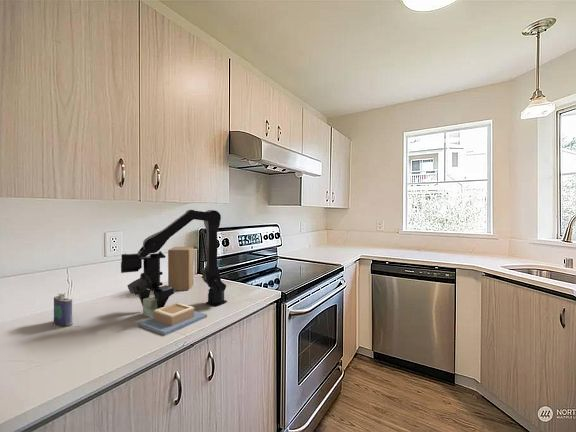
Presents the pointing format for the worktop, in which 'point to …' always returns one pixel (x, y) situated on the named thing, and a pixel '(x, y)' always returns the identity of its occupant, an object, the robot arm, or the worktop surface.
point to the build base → (170, 328)
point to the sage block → (149, 306)
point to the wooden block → (181, 268)
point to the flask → (62, 311)
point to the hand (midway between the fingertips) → (152, 310)
